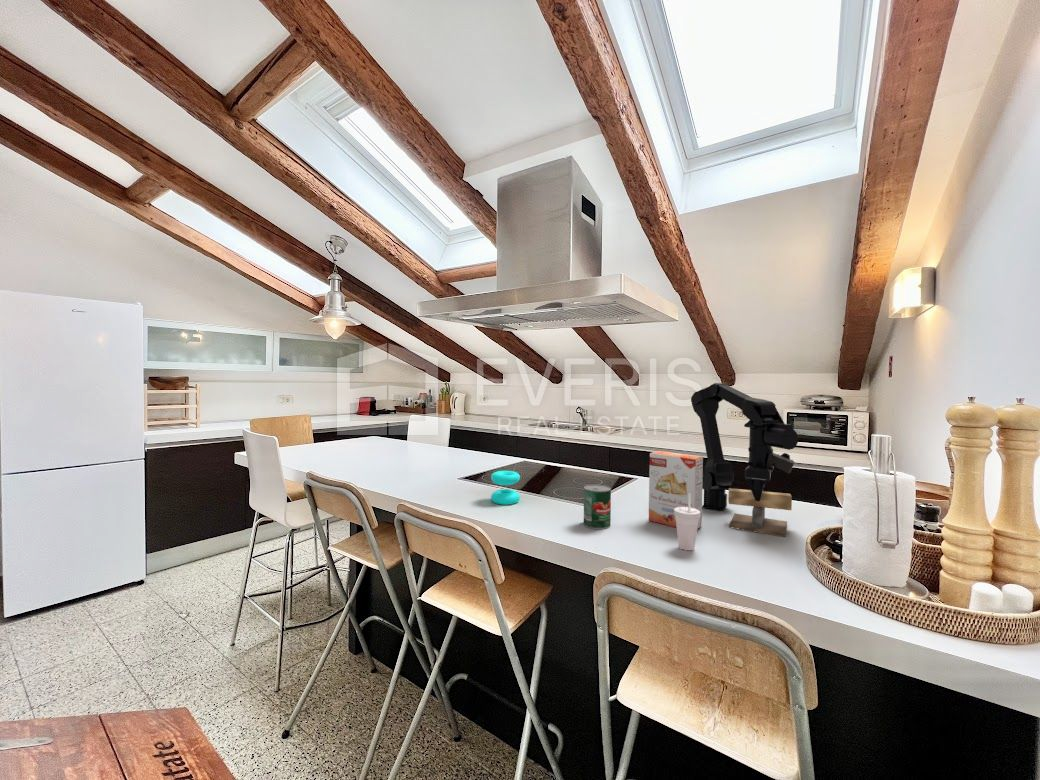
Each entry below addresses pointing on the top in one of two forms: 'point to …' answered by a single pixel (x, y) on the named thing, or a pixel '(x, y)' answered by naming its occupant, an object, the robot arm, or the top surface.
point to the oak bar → (766, 500)
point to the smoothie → (687, 525)
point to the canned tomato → (597, 506)
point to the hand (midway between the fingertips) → (759, 497)
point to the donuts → (505, 495)
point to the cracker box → (674, 485)
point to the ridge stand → (759, 523)
